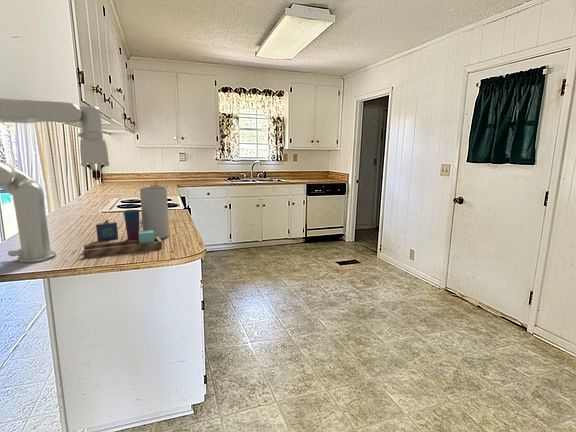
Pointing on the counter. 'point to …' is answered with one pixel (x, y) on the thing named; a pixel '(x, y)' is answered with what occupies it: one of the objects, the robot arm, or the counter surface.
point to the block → (146, 236)
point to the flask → (107, 231)
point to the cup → (132, 224)
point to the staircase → (156, 185)
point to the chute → (120, 248)
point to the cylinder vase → (155, 210)
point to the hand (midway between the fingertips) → (97, 179)
